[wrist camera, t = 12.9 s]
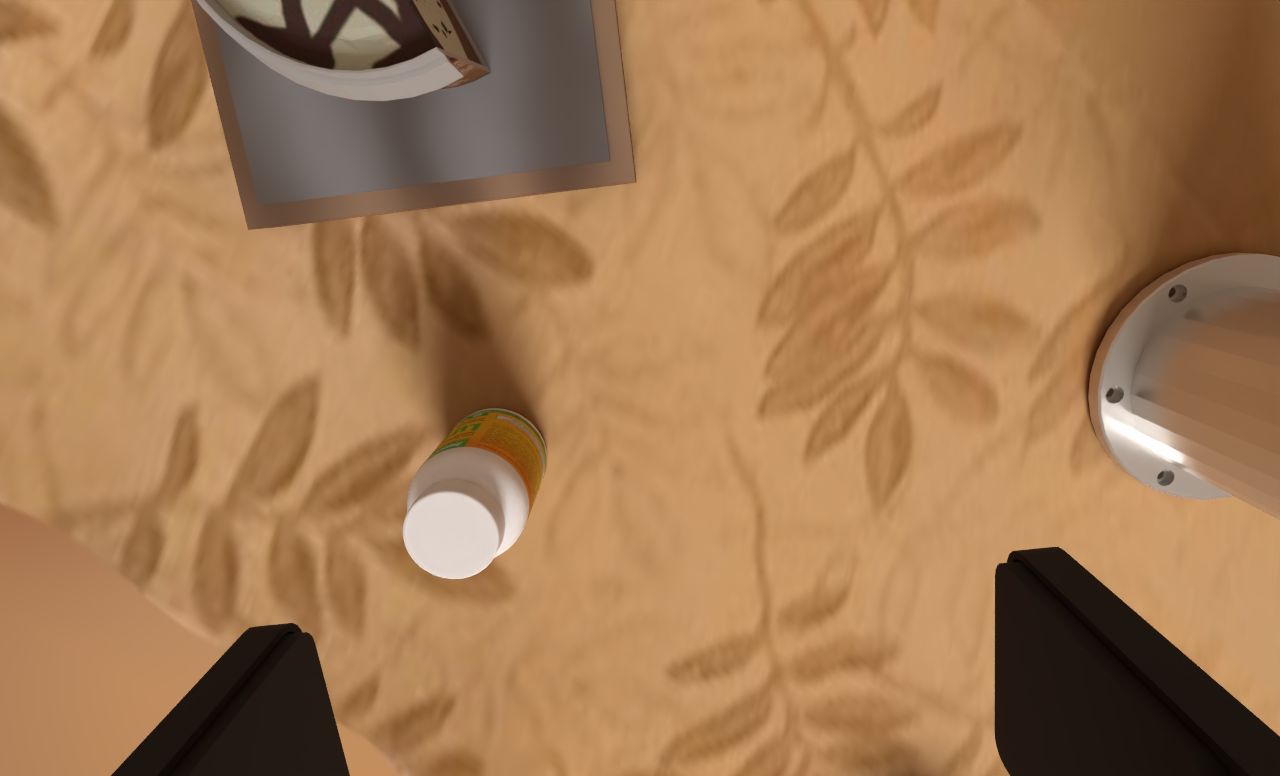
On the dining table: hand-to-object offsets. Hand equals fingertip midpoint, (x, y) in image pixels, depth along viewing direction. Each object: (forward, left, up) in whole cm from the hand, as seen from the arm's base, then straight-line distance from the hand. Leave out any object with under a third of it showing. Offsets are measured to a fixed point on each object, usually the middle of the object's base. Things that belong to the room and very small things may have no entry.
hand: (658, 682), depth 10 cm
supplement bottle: (+9, +6, -28) cm, 30 cm away
